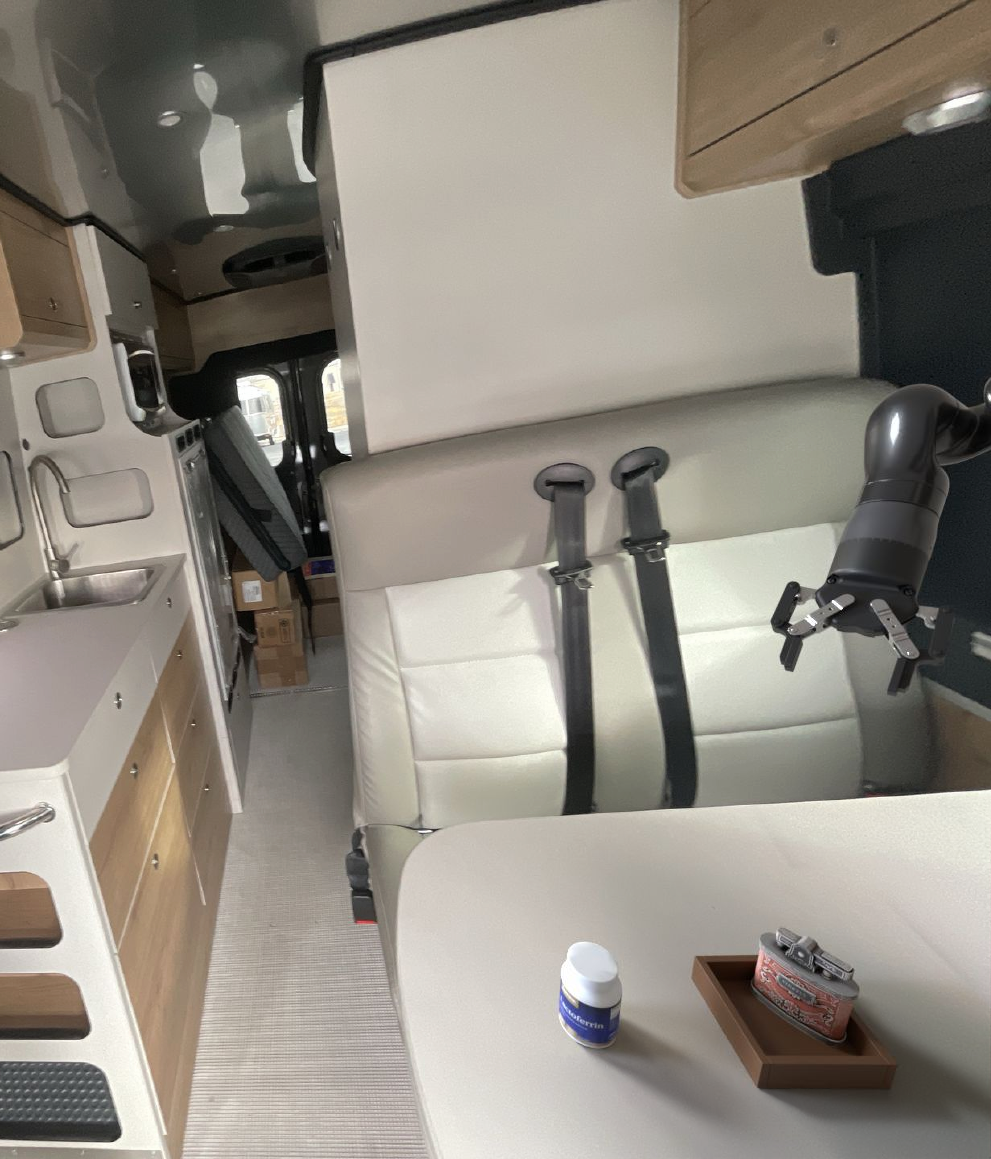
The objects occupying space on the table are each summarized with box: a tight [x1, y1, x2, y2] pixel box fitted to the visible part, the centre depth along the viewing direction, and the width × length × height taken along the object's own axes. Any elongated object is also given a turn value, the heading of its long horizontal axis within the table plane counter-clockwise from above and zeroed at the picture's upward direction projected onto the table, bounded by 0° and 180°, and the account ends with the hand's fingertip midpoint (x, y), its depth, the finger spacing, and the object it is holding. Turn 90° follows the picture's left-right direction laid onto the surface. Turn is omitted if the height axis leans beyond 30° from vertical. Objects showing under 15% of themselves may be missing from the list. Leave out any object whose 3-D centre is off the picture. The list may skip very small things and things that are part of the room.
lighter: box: [750, 926, 861, 1047], centre depth 68 cm, size 8×3×10 cm, turn 28°
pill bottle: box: [558, 941, 623, 1050], centre depth 71 cm, size 6×6×10 cm
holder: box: [690, 954, 899, 1090], centre depth 69 cm, size 12×12×4 cm
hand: (838, 681), depth 73 cm, fingers open, 8 cm apart
